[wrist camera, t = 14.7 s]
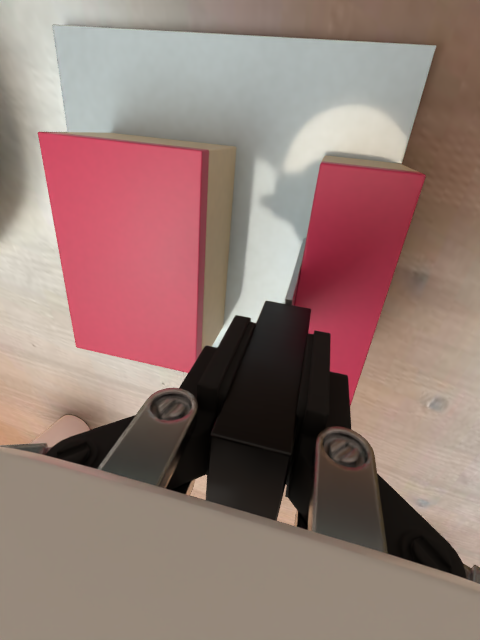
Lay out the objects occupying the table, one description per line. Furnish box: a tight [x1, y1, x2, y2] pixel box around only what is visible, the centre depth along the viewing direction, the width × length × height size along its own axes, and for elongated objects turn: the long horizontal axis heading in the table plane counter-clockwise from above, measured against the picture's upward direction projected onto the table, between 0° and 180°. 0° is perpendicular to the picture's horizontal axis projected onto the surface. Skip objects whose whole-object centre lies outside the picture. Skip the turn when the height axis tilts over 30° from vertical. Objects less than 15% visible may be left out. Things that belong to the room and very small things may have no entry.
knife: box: [206, 238, 311, 521], centre depth 15 cm, size 2×3×16 cm, turn 175°
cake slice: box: [294, 155, 426, 405], centre depth 19 cm, size 4×12×6 cm, turn 175°
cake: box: [38, 132, 236, 373], centre depth 21 cm, size 8×12×6 cm, turn 175°
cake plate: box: [52, 25, 436, 347], centre depth 23 cm, size 20×22×1 cm
